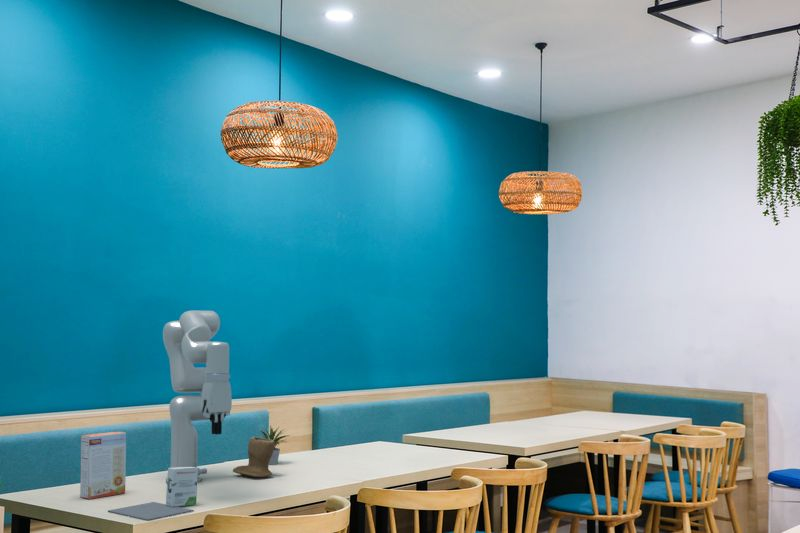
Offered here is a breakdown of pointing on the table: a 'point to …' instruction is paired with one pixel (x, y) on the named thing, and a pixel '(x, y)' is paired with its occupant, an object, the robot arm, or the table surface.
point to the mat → (150, 511)
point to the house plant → (276, 450)
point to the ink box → (181, 486)
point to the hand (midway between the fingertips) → (216, 433)
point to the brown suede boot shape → (257, 458)
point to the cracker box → (103, 464)
